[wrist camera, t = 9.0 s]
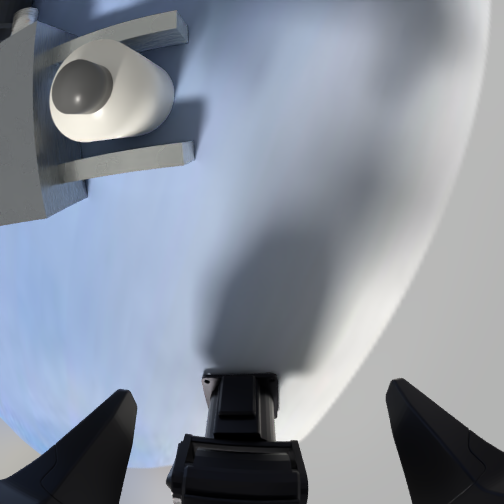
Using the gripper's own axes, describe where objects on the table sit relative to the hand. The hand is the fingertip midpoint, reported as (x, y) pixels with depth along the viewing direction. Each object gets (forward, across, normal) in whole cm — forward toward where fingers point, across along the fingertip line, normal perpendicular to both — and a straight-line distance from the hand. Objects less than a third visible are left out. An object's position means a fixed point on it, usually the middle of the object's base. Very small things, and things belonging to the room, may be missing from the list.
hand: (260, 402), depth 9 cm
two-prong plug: (+12, +11, -12) cm, 21 cm away
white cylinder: (+12, +7, -11) cm, 18 cm away
